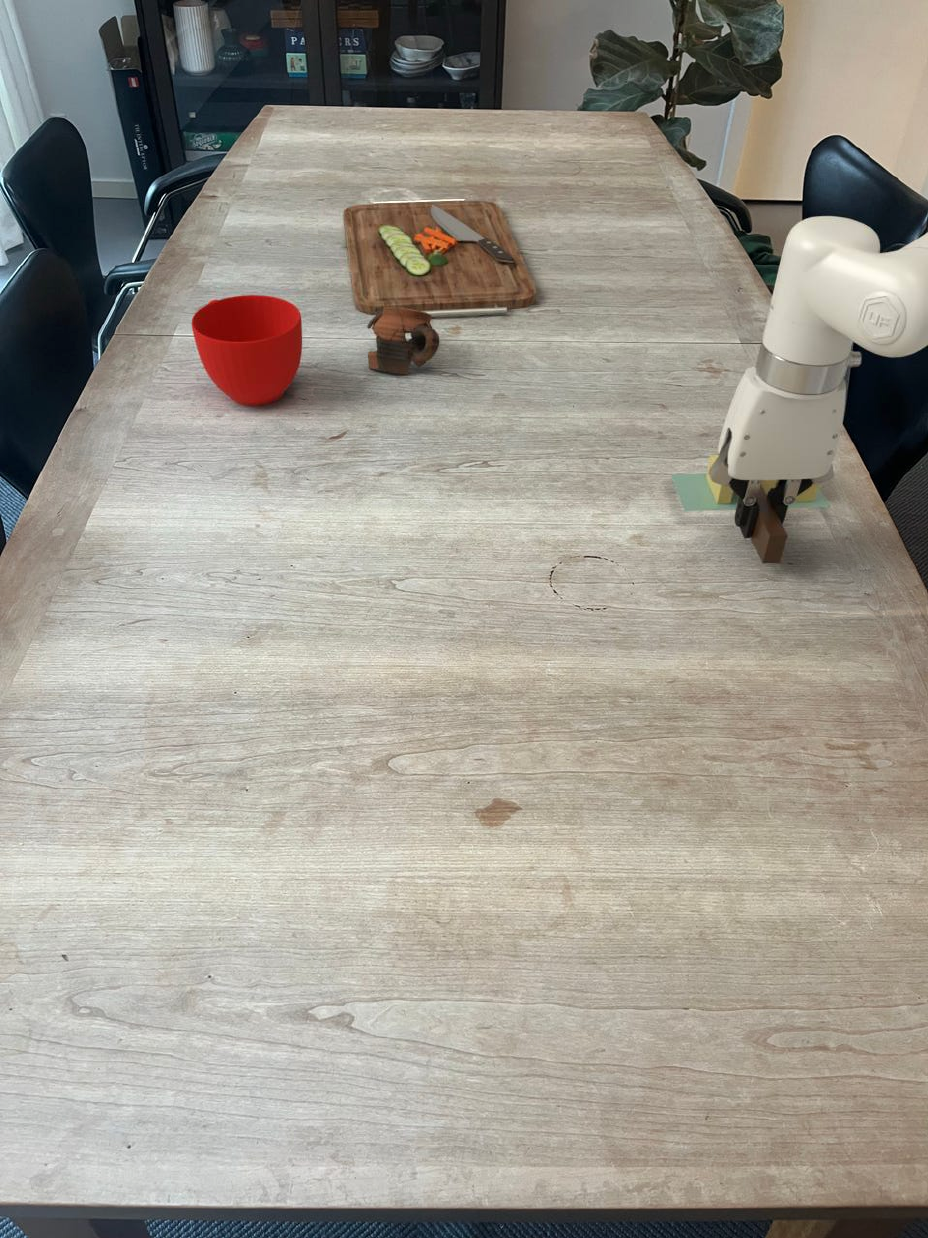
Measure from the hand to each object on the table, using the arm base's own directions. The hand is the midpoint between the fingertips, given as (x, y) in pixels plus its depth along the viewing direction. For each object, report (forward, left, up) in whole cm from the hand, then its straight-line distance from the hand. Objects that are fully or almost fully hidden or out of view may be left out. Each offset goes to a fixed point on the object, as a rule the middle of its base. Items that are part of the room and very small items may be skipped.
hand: (756, 528), depth 101 cm
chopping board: (+30, -77, -3) cm, 83 cm away
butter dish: (-2, -9, -3) cm, 10 cm away
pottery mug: (+35, -42, -3) cm, 55 cm away
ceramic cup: (+55, -36, -3) cm, 66 cm away
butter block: (-5, -9, -2) cm, 11 cm away
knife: (0, -4, 0) cm, 4 cm away
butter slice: (+1, -9, -2) cm, 10 cm away
